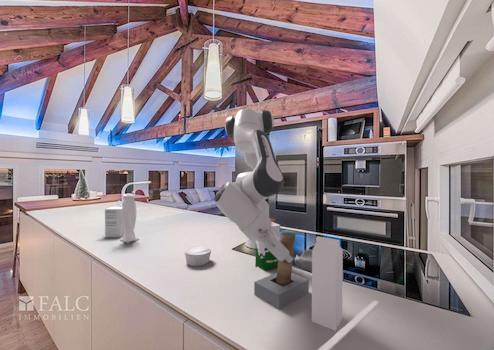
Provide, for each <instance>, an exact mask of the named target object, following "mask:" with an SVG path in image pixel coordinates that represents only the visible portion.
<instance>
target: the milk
mask: <svg viewBox="0 0 494 350" xmlns="http://www.w3.org/2000/svg"><path fill="white" fill-rule="evenodd" d="M340 245H341V242H340V240H339V239H338V238H337V239H335V238H330V237H326V236H325V237H323V236H318V235H317V236H316V238H315V243H314V246H313V249H311V250H312V272H311V322H312V323H315V324H317V325H319V326H323V327H325V328H327V329H330V330H333V331H335V332H336V331H337V329H338V327H339V325H340V324H341V322H342V320H343V280H344V279H343V273H344V272H343V269H344V268H343V266H344V264H343V263H344V261H343V260H344V259H343V255H344V253H343V251H344V250H343V248H342V247H341V246H340Z"/></svg>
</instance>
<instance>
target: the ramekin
mask: <svg viewBox="0 0 494 350" xmlns="http://www.w3.org/2000/svg"><path fill="white" fill-rule="evenodd" d="M211 253H212V249H211V248H210V247H208V246H204V245H196V246H190V247H188V248H185V250H184V255H185V263H186V264H187V265H188V266H192V267H200V266H201V267H202V266H204V265H206V264H208V263H209V262H210V257H211Z"/></svg>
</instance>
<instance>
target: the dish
mask: <svg viewBox="0 0 494 350" xmlns="http://www.w3.org/2000/svg"><path fill="white" fill-rule="evenodd" d="M312 250H313V249H305V250H303V251H302V254H301V255H300V256H299V255H298V254H296V255H295V257H294V264H295V265H296V266H297V269H300V270H303V271H306V272H311V273H312Z"/></svg>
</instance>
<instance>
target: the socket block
mask: <svg viewBox="0 0 494 350" xmlns="http://www.w3.org/2000/svg"><path fill="white" fill-rule="evenodd" d="M276 277H277V272H274V273H273V274H271V275H268V276H265V277H263V278H261V279H257V280H256V281H254V284H253V287H254V291H253V292H254V293H253V295H254V296H256V297H257V298H258V299H260V300H262V301H263V302H265V303H267V304H269V305H271V306H272V307H274V308H276V309H277V310H280V309H283V308H284V307H286V306H287V305H289V304H292V303H293V302H294V301H296V300H298V299H300V298H302V297H303V296H305V295H307V294H308V293H309V291H310V290H309V289H310V286H309V285H310V281H309V280H310V279H309V278H306V277H304V276H301V275H298V274H296V273H294V272H291V282H290V284H288V285H285V286H283V287H282V286H280V285H278V284H276Z"/></svg>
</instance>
